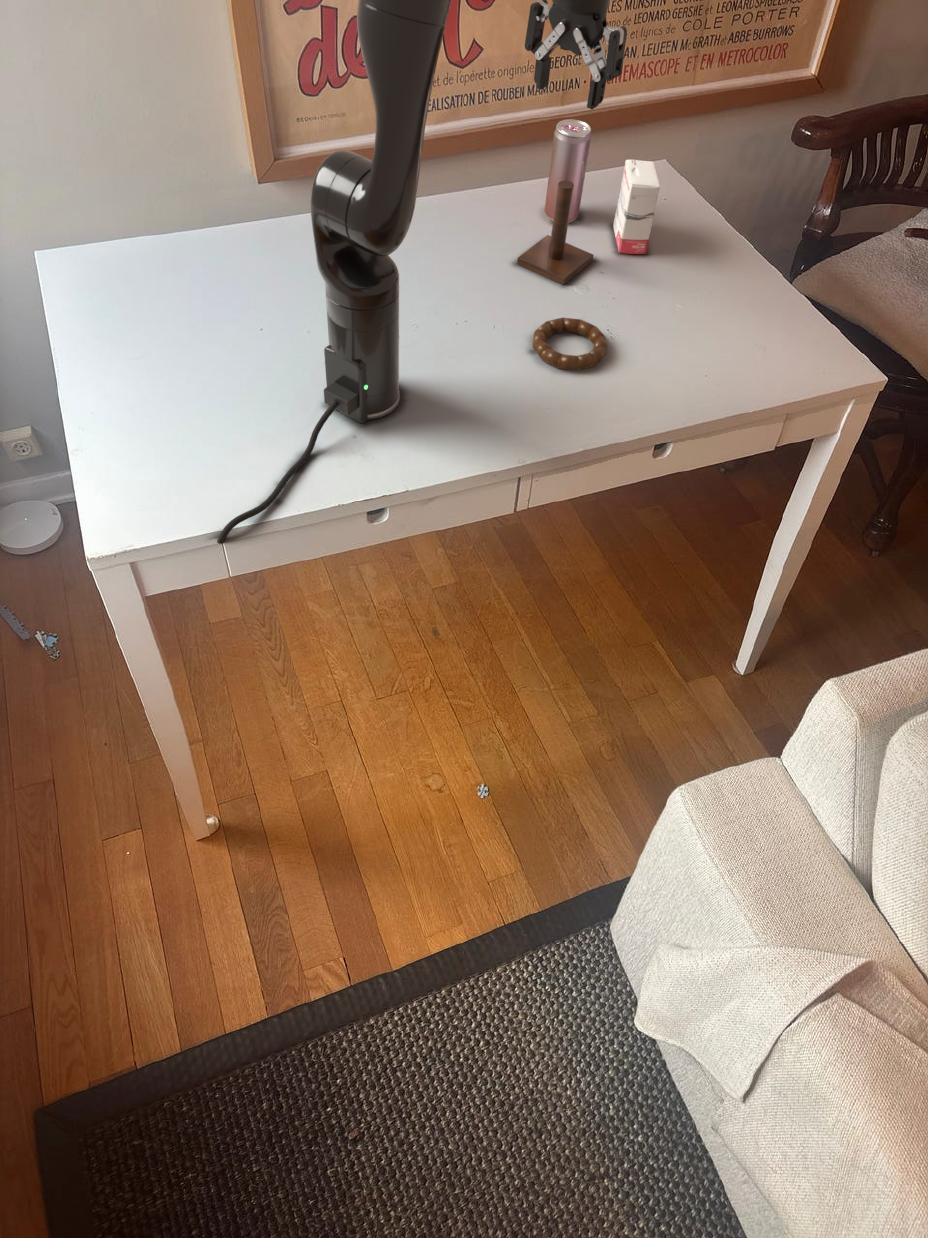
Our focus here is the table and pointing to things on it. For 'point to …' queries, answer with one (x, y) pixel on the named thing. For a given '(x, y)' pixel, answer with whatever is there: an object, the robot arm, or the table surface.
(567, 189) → the post
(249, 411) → the table surface
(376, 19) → the robot arm
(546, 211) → the beverage can
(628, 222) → the ink box
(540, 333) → the ring
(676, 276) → the table surface
